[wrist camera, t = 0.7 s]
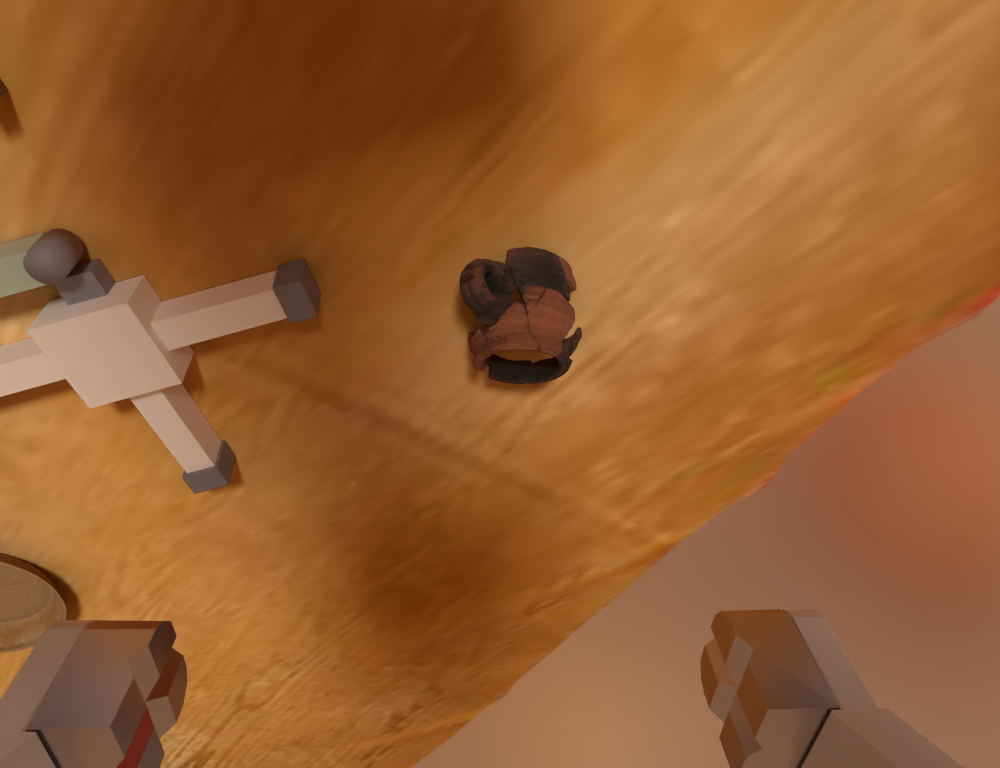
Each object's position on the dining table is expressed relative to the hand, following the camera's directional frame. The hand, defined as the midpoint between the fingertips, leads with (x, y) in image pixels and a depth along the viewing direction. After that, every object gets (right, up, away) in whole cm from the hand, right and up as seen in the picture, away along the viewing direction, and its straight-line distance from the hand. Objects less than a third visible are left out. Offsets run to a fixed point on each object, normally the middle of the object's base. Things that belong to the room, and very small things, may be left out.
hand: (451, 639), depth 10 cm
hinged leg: (-34, +12, +34) cm, 49 cm away
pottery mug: (+1, +11, +42) cm, 43 cm away
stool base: (-26, +5, +41) cm, 49 cm away
